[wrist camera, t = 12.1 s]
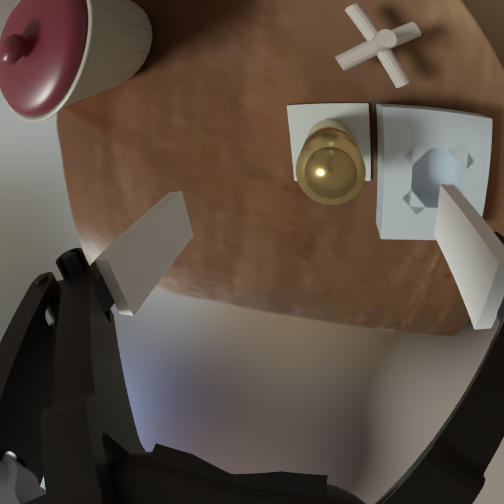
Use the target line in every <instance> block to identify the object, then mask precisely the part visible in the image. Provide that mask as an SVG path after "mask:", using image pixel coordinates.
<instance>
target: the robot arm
mask: <svg viewBox="0 0 504 504" xmlns="http://www.w3.org/2000/svg"><path fill="white" fill-rule="evenodd" d="M434 236H435V238H436V240H437V242H438V244H439V246H440V248H441V250H442V252H443V254H444V256H445V258H446V261H447V263H448V265H449V267H450V269H451V272H452V274H453V276H454V278H455V281H456V283H457V285H458V288H459V290H460V293H461V295H462V298H463V300H464V303H465V305H466V308H467V310H468V313H469V316H470V318H471V321H472V324H473V327H474V329H485V328H491V327H492V325H493V323H494V321H495V318H496V316H498V319H499V321H500V325H499V327H498V330H497V332H496V334H495V336H494V338H493V340H492V342H491V344H490V347H489V349H488V351H487V353H486V355H485V357H484V359H483V361H482V363H481V364H480V366H479V368H478V370H477V372H476V374H475V375H474V377H473V379H472V381H471V382H470V384H469V386H468V388H467V389H466V391H465V393H464V394H463V396H462V398H461V399H460V401H459V402H458V404H457V405H456V407H455V409H454V410H453V412H452V413H451V415H450V416H449V418H448V419H447V420H446V422H445V423H444V425H443V426H442V428H441V429H440V430H439V432H438V433H437V434H436V436H435V437H434V439H433V440H432V441H431V442H430V444H429V445H428V446H427V448H426V449H425V450H424V451H423V453H422V454H421V455H420V456H419V457H418V459H417V460H416V461H415V462H414V463H413V465H412V466H411V467H410V468H409V469H408V470H407V472H406V473H405V474H404V475H403V476H402V477H401V478H400V479H399V480H398V482H396V483H395V484H394V485H393V487H391V488H390V490H388V491H387V493H385V494H384V495H383V496H382V497H381V498H380V499H379V500H378V501H377V502H376V503H375V504H472V503H473V502H474V500H475V499H476V497H477V495H478V494H479V492H480V491H481V489H482V487H483V486H484V482H485V477H484V476H483V475H484V472H485V470H486V468H487V466H488V464H489V463H490V461H491V459H492V458H493V456H494V454H495V452H496V451H497V449H498V447H499V445H500V443H501V441H502V439H503V437H504V237H503V236H502V235H501V234H499V233H498V232H493V231H492V229H491V228H490V227H489V225H488V224H487V223H486V222H485V220H484V219H483V218H482V217H481V216H480V214H479V213H478V212H477V211H476V210H475V208H474V207H473V206H472V205H471V204H470V203H469V201H468V200H467V199H466V198H465V197H464V196H463V195H462V194H461V192H460V191H459V190H458V189H457V188H456V187H455V186H454V185H446V184H440V190H439V200H438V209H437V217H436V225H435V232H434ZM192 237H193V233H192V229H191V225H190V222H189V218H188V214H187V210H186V206H185V202H184V198H183V194H182V191H178V192H169V193H168V194H167V195H166V196H165V197H163V198H162V199H161V200H160V201H159V202H158V203H156V204H155V205H154V206H153V207H152V208H151V209H149V210H148V211H147V212H146V213H145V214H144V215H143V216H141V217H140V218H139V219H138V220H137V221H136V222H135V223H134V224H132V225H131V226H130V227H129V228H128V229H127V230H126V231H125V232H124V233H123V234H121V235H120V236H119V237H118V238H117V239H116V240H115V241H114V242H113V243H112V244H111V245H110V246H109V247H108V248H107V249H105V250H104V251H103V252H102V253H101V254H100V255H99V256H98V257H97V258H96V259H95V261H94V262H93V263H92V264H91V265H90V266H89V264H88V262H87V260H86V257H85V255H84V253H83V250H82V249H81V248H74V249H71V250H69V251H67V252H65V253H63V254H62V255H61V256H60V257H59V258H58V259H57V260H56V264H57V266H58V268H59V270H60V272H61V274H62V276H63V278H64V279H63V280H60V281H57V280H56V279H55V277H54V275H53V273H52V272H48V273H44V274H41V275H39V276H38V277H37V278H36V279H35V280H34V281H33V282H32V284H31V285H30V287H29V289H28V291H27V292H26V294H25V296H24V298H23V300H22V301H21V303H20V305H19V307H18V308H17V310H16V312H15V314H14V316H13V318H12V320H11V322H10V324H9V326H8V328H7V330H6V332H5V334H4V336H3V338H2V340H1V342H0V504H365V503H364V502H363V501H362V500H361V499H359V498H358V497H356V496H355V495H353V494H351V493H350V492H348V491H346V490H344V489H342V488H339V487H337V486H334V485H330V484H327V477H328V476H327V475H312V474H300V473H290V472H282V471H281V472H270V473H256V474H230V473H228V472H226V471H224V470H222V469H219V468H218V467H216V466H214V465H212V464H210V463H208V462H206V461H204V460H202V459H200V458H198V457H196V456H195V455H193V454H190V453H186V452H183V451H179V450H176V449H173V448H169V447H166V446H163V445H159V444H156V445H155V447H154V449H153V451H152V452H146V451H145V449H144V448H143V446H142V445H141V442H140V440H139V438H138V434H137V430H136V426H135V423H134V419H133V415H132V411H131V407H130V403H129V398H128V394H127V389H126V385H125V380H124V375H123V370H122V365H121V359H120V354H119V348H118V342H117V335H116V329H115V322H114V315H113V313H112V311H111V309H110V308H111V307H112V306H113V304H114V303H115V305H116V307H117V309H118V311H119V312H120V314H125V315H132V316H134V314H135V313H136V312H137V310H138V309H139V308H140V306H141V305H142V303H143V302H144V301H145V299H146V298H147V297H148V295H149V294H150V292H151V291H152V290H153V288H154V287H155V286H156V284H157V283H158V282H159V280H160V279H161V278H162V276H163V275H164V274H165V272H166V271H167V270H168V268H169V267H170V266H171V264H172V263H173V262H174V260H175V259H176V258H177V257H178V255H179V254H180V253H181V251H182V250H183V249H184V247H185V246H186V245H187V244H188V242H189V241H190V240H191V238H192ZM45 313H46V315H47V316H48V318H49V319H50V321H51V324H50V326H49V325H48V323H47V321H46V317H45ZM5 453H6V454H5ZM43 475H44V480H45V489H46V490H44V489H43V488H42V487H40V485H41V482H42V479H43Z"/></svg>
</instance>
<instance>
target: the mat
mask: <svg viewBox="0 0 504 504" xmlns="http://www.w3.org/2000/svg"><path fill="white" fill-rule="evenodd" d="M287 112H288V121H289V130H290V139H291V149H292V159H293V170H294V181H297V177H296V163H297V159H298V157H299V155H300V152H301V150H302V147H303V145H304V142H305V140H306V138H307V135H308V133H309V131H310V129H311V128H312V126H313V125H315V124H316V123H317V122H319V121H322V120H325V119H334V120H338V121H340V122H342V123H344V124H345V125H346V126H347V127H348V128H349V129H350V130H351V132H352V134H353V136H354V138H355V141H356V143H357V145H358V148H359V150H360V153H361V155H362V158H363V160H364V163H365V168H366V177H365V180H366V181H371V154H370V122H369V104H368V103H322V104H299V105H287Z"/></svg>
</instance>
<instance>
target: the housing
mask: <svg viewBox="0 0 504 504" xmlns="http://www.w3.org/2000/svg"><path fill="white" fill-rule="evenodd" d="M376 112H377V139H378V186H377V213H376V223H377V227H378V231H379V235H380V239H407V240H436V238H435V236H434V232H435V225H436V217H437V209H438V200H439V190H440V184H446V185H454V186H455V187H456V188H457V189H458V190H459V191H460V192H461V194H462V195H463V196H464V197H465V198H466V199H467V200H468V201H469V203H470V204H471V205H472V206H473V207H474V208H475V210H476V211H477V212H478V213H479V214H480V216H481V217H482V215H483V210H484V204H485V198H486V191H487V184H488V176H489V167H490V157H491V143H492V119H491V118H488V117H486V116H483V115H480V114H477V113H472V112H465V111H458V110H451V109H443V108H434V107H424V106H412V105H398V104H376Z"/></svg>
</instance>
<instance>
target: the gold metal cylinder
mask: <svg viewBox="0 0 504 504" xmlns="http://www.w3.org/2000/svg"><path fill="white" fill-rule="evenodd" d="M296 177H297V181H298V183H299V185H300V187H301V189H302V190H303V191H304V193H305V194H306V195H307V196H309V197H310V198H311V199H313V200H315V201H317V202H319V203H323V204H327V205H337V204H342V203H345V202H347V201H349V200H351V199H352V198H354V197H355V196H356V195H357V194H358V193H359V191H360V190H361V188H362V187H363V184H364V182H365V177H366V168H365V163H364V160H363V158H362V155H361V153H360V150H359V148H358V145H357V143H356V141H355V138H354V136H353V134H352V132H351V130H350V129H349V128H348V127H347V126H346V125H345V124H344V123H342V122H340V121H338V120H334V119H325V120H322V121H319V122H317V123H316V124H315V125H313V126H312V128H311V129H310V131H309V133H308V135H307V138H306V140H305V142H304V145H303V147H302V150H301V152H300V155H299V157H298V159H297V163H296Z"/></svg>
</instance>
